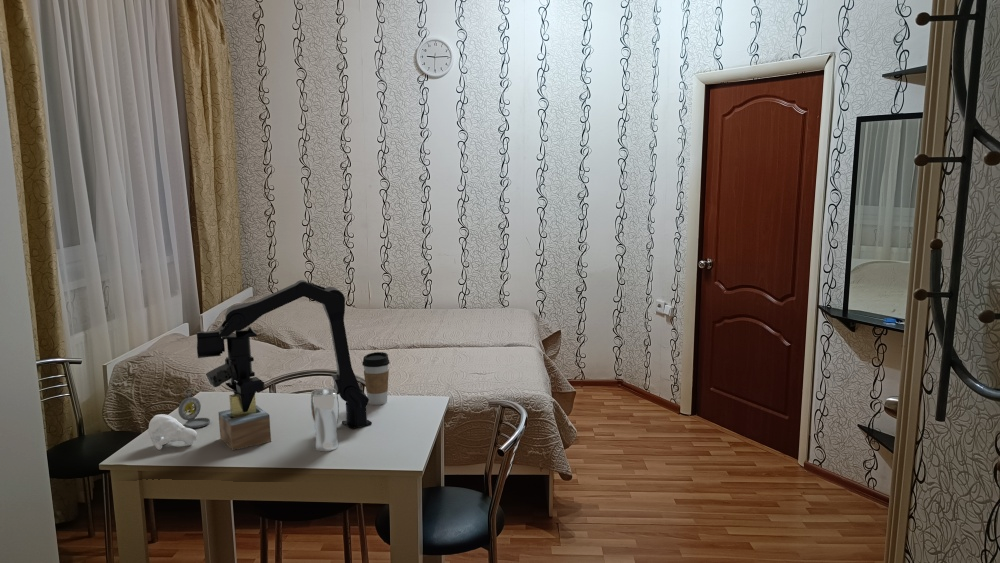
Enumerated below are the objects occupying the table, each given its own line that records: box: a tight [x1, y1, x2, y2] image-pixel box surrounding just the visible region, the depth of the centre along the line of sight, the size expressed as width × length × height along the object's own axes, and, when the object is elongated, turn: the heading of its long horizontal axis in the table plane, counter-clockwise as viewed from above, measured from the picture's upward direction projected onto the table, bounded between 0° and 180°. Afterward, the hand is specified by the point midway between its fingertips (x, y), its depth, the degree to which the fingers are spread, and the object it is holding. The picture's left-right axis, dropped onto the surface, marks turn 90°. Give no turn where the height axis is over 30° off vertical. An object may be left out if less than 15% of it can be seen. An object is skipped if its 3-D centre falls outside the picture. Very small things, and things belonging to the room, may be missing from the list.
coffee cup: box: [361, 351, 390, 406], centre depth 226 cm, size 8×8×15 cm
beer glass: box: [310, 387, 340, 452], centre depth 189 cm, size 7×7×15 cm
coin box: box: [217, 404, 272, 451], centre depth 196 cm, size 11×10×8 cm
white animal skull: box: [147, 413, 198, 451], centre depth 193 cm, size 6×8×12 cm
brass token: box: [229, 393, 257, 418], centre depth 195 cm, size 2×6×6 cm, turn 127°
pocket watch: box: [177, 388, 211, 429], centre depth 209 cm, size 8×8×10 cm
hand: (243, 410), depth 195 cm, fingers open, 3 cm apart
